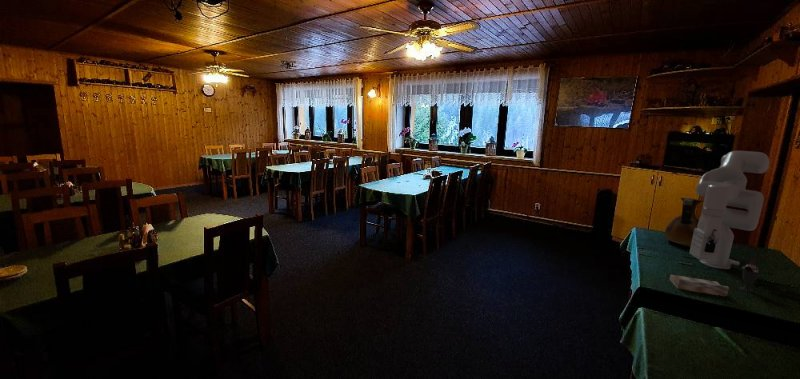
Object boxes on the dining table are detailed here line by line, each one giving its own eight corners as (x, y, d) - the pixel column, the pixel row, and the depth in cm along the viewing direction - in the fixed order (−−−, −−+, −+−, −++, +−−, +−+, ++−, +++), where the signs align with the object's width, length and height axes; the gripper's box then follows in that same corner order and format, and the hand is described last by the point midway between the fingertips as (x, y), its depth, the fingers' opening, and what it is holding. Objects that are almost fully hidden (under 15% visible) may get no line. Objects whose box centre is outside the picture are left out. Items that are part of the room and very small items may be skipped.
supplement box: (706, 254, 159) (712, 229, 157) (717, 261, 152) (723, 234, 150) (688, 253, 161) (694, 227, 158) (698, 259, 154) (704, 232, 151)
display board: (715, 286, 160) (717, 277, 159) (726, 296, 151) (729, 287, 150) (669, 279, 166) (671, 270, 166) (677, 288, 157) (679, 279, 156)
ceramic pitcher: (704, 244, 216) (714, 198, 209) (702, 253, 201) (713, 204, 195) (665, 236, 229) (674, 193, 222) (661, 244, 214) (670, 198, 208)
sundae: (750, 287, 160) (758, 258, 157) (759, 294, 154) (768, 263, 151) (732, 285, 162) (740, 255, 159) (741, 291, 156) (749, 261, 153)
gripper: (694, 206, 161) (686, 241, 165) (711, 216, 145) (702, 254, 149) (714, 208, 159) (705, 243, 162) (734, 218, 143) (724, 257, 146)
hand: (704, 248), depth 156 cm, fingers closed on supplement box, 8 cm apart
